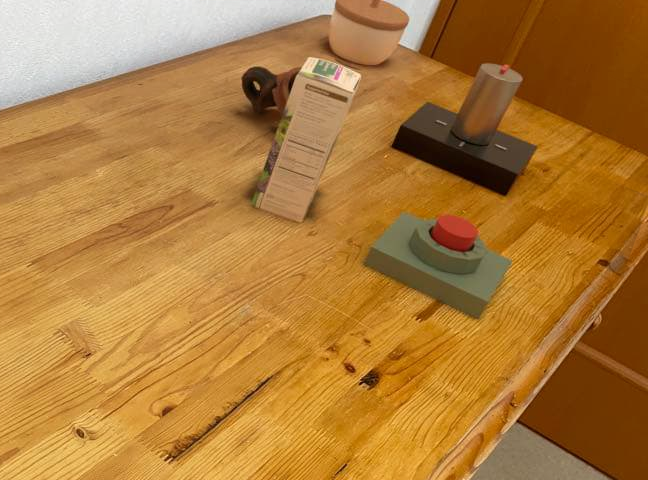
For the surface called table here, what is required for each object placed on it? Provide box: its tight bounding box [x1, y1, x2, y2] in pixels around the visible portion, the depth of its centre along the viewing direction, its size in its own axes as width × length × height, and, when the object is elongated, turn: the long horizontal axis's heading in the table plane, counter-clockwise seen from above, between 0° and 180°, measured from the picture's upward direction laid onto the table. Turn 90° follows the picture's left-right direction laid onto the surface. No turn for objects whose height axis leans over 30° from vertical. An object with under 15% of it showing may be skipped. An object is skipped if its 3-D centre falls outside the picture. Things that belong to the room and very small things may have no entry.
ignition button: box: [430, 214, 479, 252], centre depth 83 cm, size 4×4×2 cm
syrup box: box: [250, 56, 363, 224], centre depth 85 cm, size 6×6×14 cm
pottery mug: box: [241, 66, 303, 136], centre depth 103 cm, size 12×10×8 cm
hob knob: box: [451, 62, 523, 145], centre depth 103 cm, size 5×5×8 cm
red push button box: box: [363, 210, 514, 320], centre depth 84 cm, size 12×10×4 cm
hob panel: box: [391, 101, 539, 197], centre depth 107 cm, size 15×11×3 cm
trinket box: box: [328, 0, 410, 71], centre depth 123 cm, size 11×11×9 cm
